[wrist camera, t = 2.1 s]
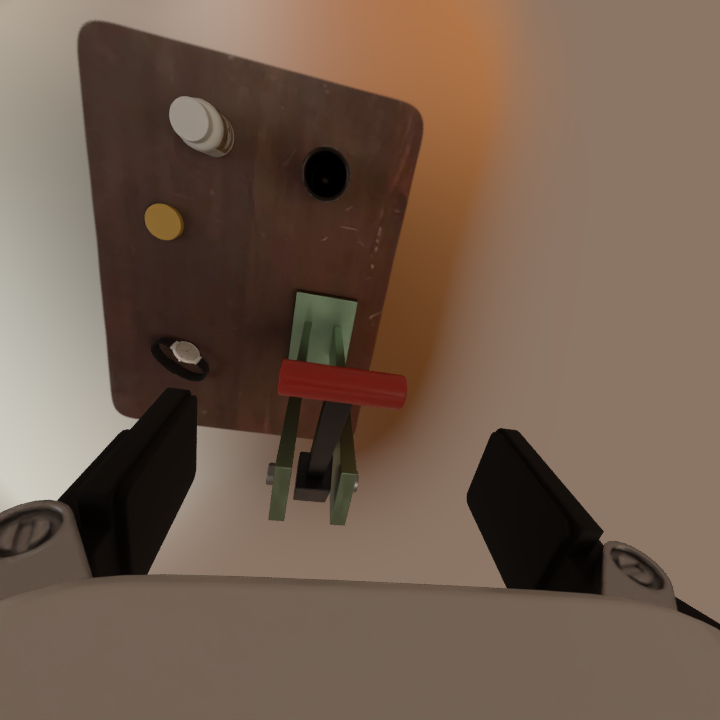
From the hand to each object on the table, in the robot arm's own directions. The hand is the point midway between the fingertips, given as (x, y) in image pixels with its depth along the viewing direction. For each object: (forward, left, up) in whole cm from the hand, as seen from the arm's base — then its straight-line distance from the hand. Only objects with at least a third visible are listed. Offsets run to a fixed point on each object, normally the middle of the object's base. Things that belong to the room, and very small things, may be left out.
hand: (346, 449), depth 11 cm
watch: (+3, -24, -38) cm, 45 cm away
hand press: (+8, -6, -38) cm, 39 cm away
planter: (-9, +3, -38) cm, 39 cm away
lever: (+4, -3, -8) cm, 9 cm away
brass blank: (-12, -16, -38) cm, 43 cm away
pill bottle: (-18, -6, -38) cm, 42 cm away
